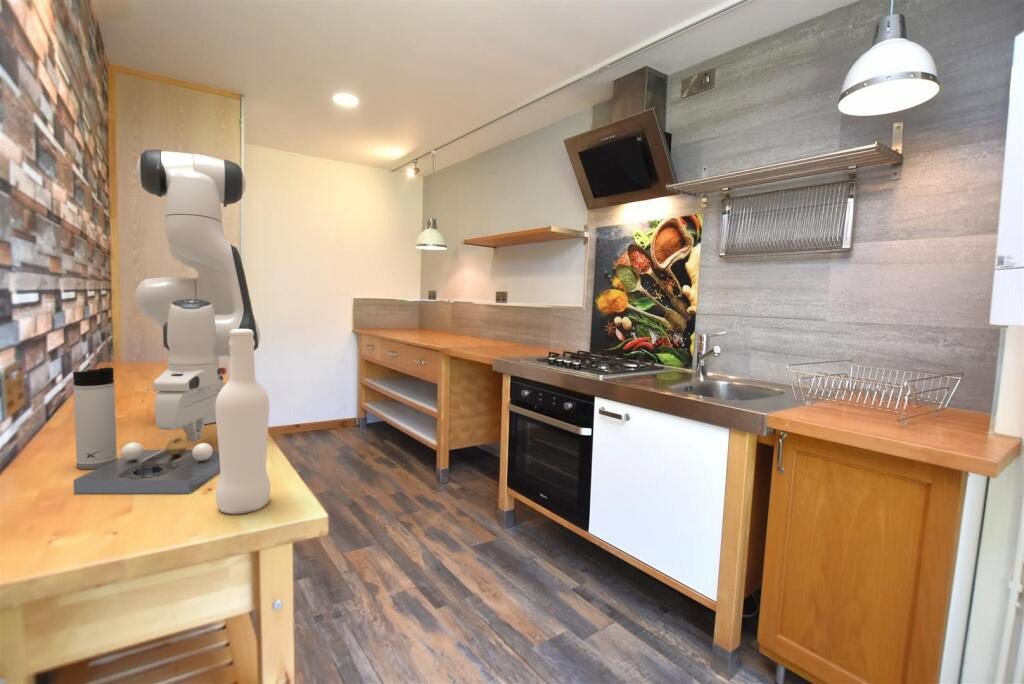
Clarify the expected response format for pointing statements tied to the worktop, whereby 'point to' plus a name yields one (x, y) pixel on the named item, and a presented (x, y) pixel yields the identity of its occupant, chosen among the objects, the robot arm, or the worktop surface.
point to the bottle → (242, 432)
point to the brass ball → (176, 447)
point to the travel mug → (95, 418)
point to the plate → (150, 474)
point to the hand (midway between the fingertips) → (194, 439)
